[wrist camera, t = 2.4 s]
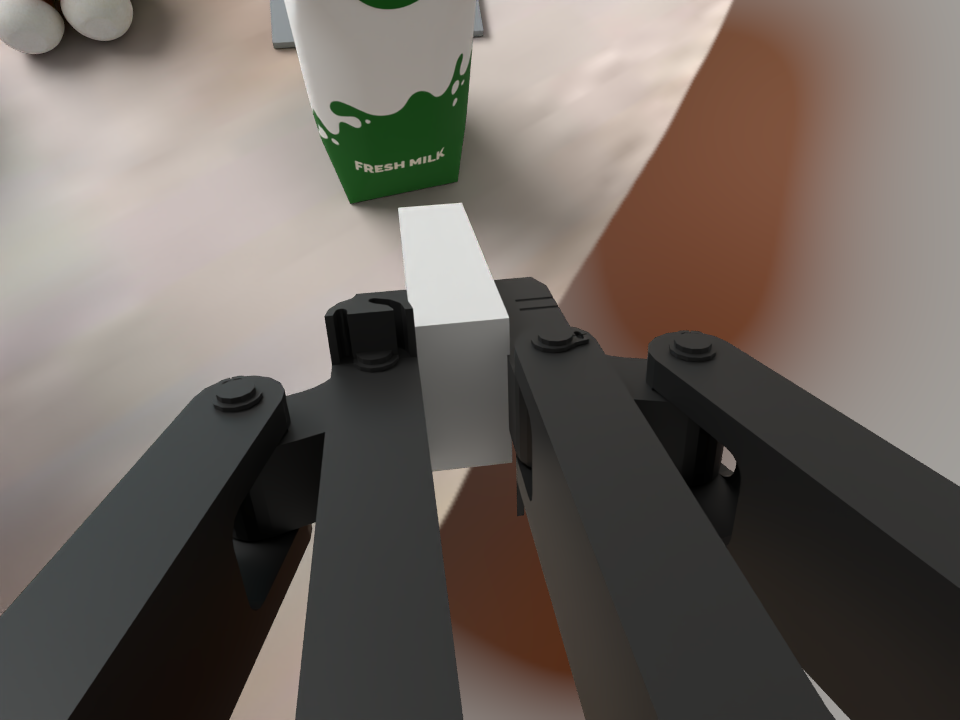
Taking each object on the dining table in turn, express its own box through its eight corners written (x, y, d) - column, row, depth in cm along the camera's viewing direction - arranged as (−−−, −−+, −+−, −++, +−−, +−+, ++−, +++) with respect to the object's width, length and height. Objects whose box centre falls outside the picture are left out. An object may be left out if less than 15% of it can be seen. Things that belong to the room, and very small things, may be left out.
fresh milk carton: (339, 220, 43) (267, -60, 24) (309, 98, 45) (222, -245, 26) (475, 191, 44) (512, -96, 25) (440, 74, 47) (448, -270, 28)
